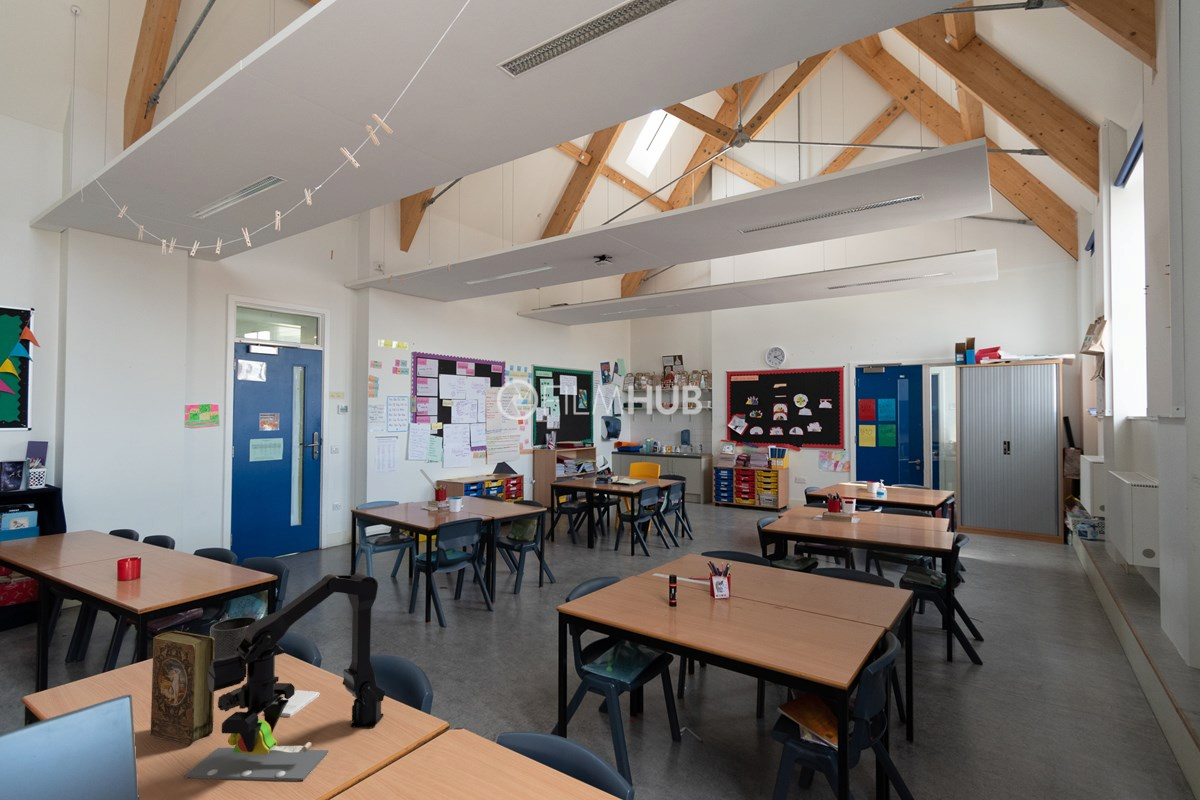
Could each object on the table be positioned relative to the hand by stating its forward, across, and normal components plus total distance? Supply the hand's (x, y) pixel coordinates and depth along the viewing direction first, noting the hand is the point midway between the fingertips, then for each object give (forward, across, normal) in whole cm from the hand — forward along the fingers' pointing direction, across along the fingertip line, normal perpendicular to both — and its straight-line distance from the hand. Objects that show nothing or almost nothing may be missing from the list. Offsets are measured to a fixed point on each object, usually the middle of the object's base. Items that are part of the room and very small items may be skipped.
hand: (259, 743), depth 134 cm
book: (+5, -12, -29) cm, 32 cm away
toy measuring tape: (+2, 0, +2) cm, 3 cm away
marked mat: (+5, 0, 0) cm, 5 cm away
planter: (+5, -56, -46) cm, 73 cm away
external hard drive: (+6, -28, -9) cm, 30 cm away
